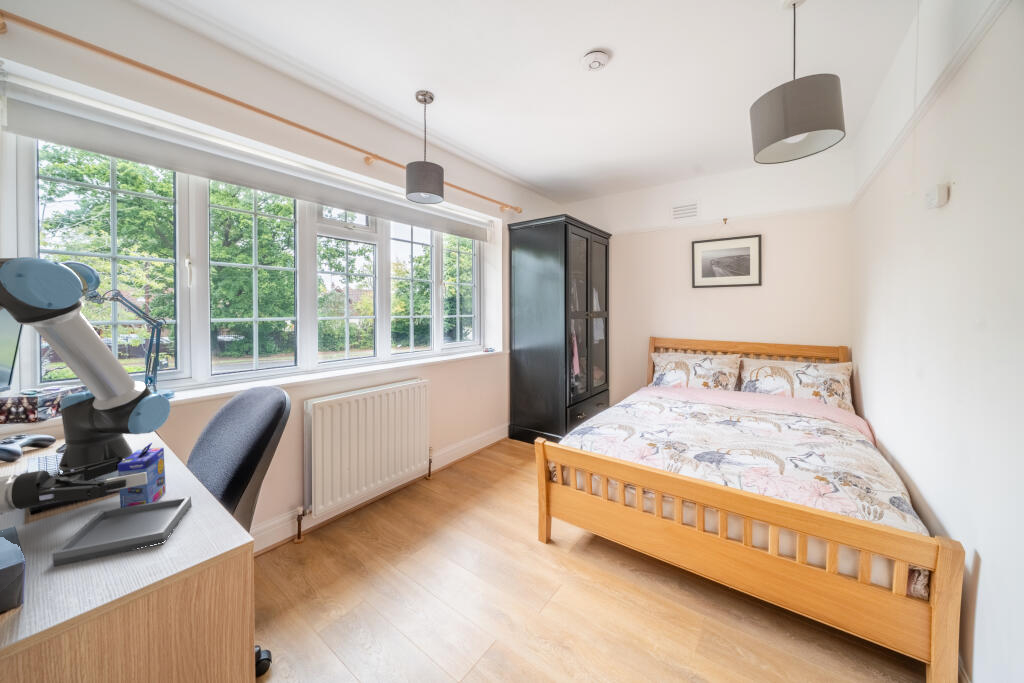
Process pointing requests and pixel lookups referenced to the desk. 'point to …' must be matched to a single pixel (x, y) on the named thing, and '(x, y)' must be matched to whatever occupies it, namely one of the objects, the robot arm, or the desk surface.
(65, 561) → the dock tray
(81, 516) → the desk surface
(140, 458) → the ink cartridge box
